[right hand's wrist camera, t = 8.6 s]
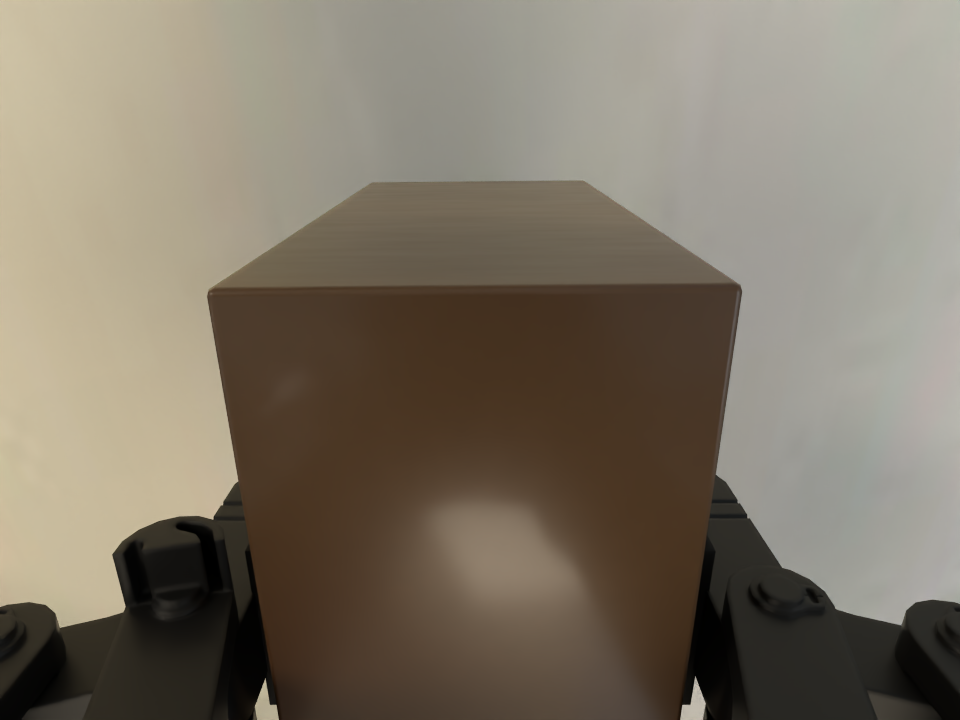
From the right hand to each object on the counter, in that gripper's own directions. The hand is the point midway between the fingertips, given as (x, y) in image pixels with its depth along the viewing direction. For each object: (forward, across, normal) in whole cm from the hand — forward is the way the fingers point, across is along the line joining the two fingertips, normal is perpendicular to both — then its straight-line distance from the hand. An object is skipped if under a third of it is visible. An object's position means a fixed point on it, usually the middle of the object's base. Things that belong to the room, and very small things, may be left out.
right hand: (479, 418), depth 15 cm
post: (+1, 0, -26) cm, 26 cm away
